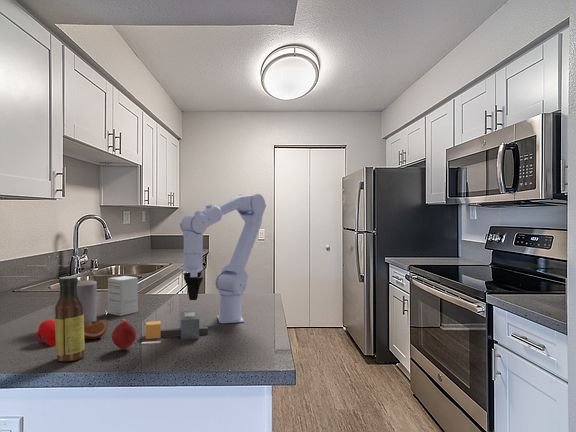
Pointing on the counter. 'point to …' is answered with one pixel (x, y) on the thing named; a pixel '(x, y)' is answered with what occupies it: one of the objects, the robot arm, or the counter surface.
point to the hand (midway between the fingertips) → (192, 297)
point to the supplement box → (122, 295)
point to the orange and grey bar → (166, 330)
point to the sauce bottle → (69, 322)
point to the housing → (189, 325)
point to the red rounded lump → (124, 335)
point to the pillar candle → (88, 298)
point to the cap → (47, 332)
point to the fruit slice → (95, 329)
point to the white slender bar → (151, 342)
